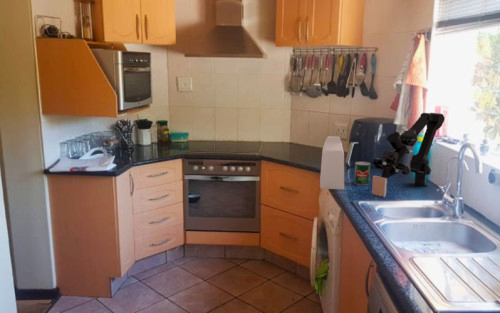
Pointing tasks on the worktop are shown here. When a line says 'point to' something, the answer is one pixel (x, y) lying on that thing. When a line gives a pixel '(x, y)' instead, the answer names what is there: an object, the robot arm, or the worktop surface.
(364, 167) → the canned tomato
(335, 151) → the milk
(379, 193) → the tile
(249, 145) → the worktop surface
